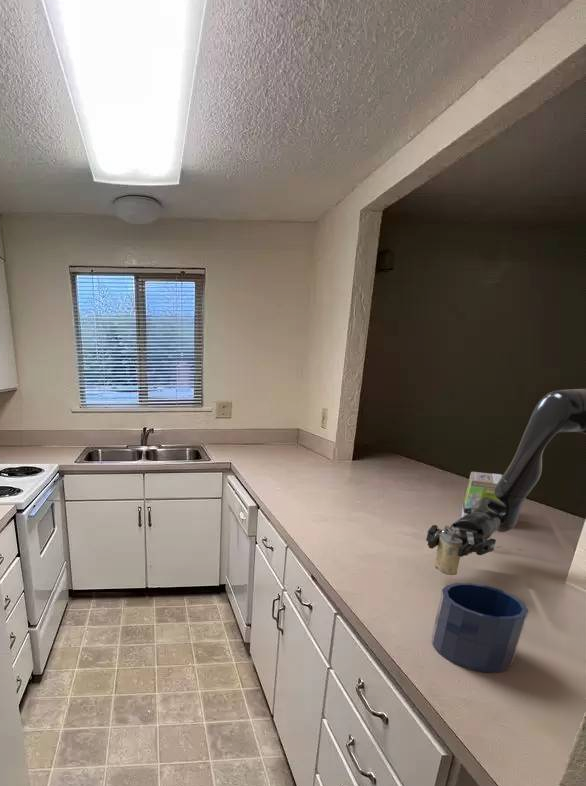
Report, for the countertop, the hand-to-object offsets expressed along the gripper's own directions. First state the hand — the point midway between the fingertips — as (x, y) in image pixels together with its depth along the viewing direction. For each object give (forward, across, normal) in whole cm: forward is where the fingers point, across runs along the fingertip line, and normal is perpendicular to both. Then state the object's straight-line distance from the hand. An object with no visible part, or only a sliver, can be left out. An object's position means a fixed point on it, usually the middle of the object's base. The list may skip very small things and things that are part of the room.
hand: (445, 548), depth 98 cm
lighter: (-3, 0, +6) cm, 7 cm away
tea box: (-63, -11, +12) cm, 65 cm away
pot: (+18, +13, +12) cm, 25 cm away
